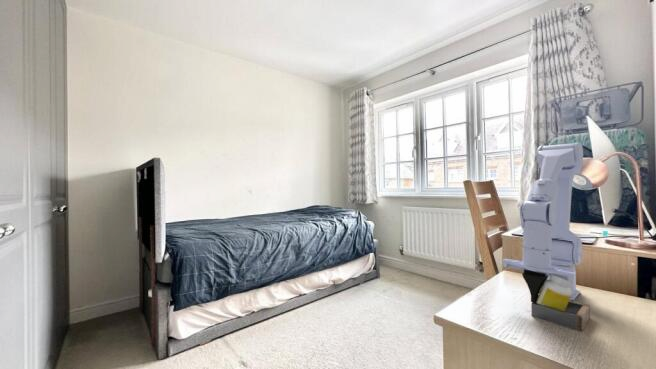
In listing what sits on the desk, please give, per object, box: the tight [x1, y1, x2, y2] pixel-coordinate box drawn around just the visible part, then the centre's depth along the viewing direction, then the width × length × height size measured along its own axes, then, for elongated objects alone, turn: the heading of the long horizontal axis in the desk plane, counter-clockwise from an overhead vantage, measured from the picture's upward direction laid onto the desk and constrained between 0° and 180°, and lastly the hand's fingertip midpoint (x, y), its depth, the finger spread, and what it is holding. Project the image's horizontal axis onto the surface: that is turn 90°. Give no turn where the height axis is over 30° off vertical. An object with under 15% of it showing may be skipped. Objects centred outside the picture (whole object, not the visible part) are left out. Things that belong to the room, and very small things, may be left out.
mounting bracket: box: [530, 300, 591, 332], centre depth 65 cm, size 9×9×3 cm
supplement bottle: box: [536, 274, 572, 311], centre depth 65 cm, size 5×5×10 cm
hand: (535, 302), depth 68 cm, fingers closed, pressing on supplement bottle
